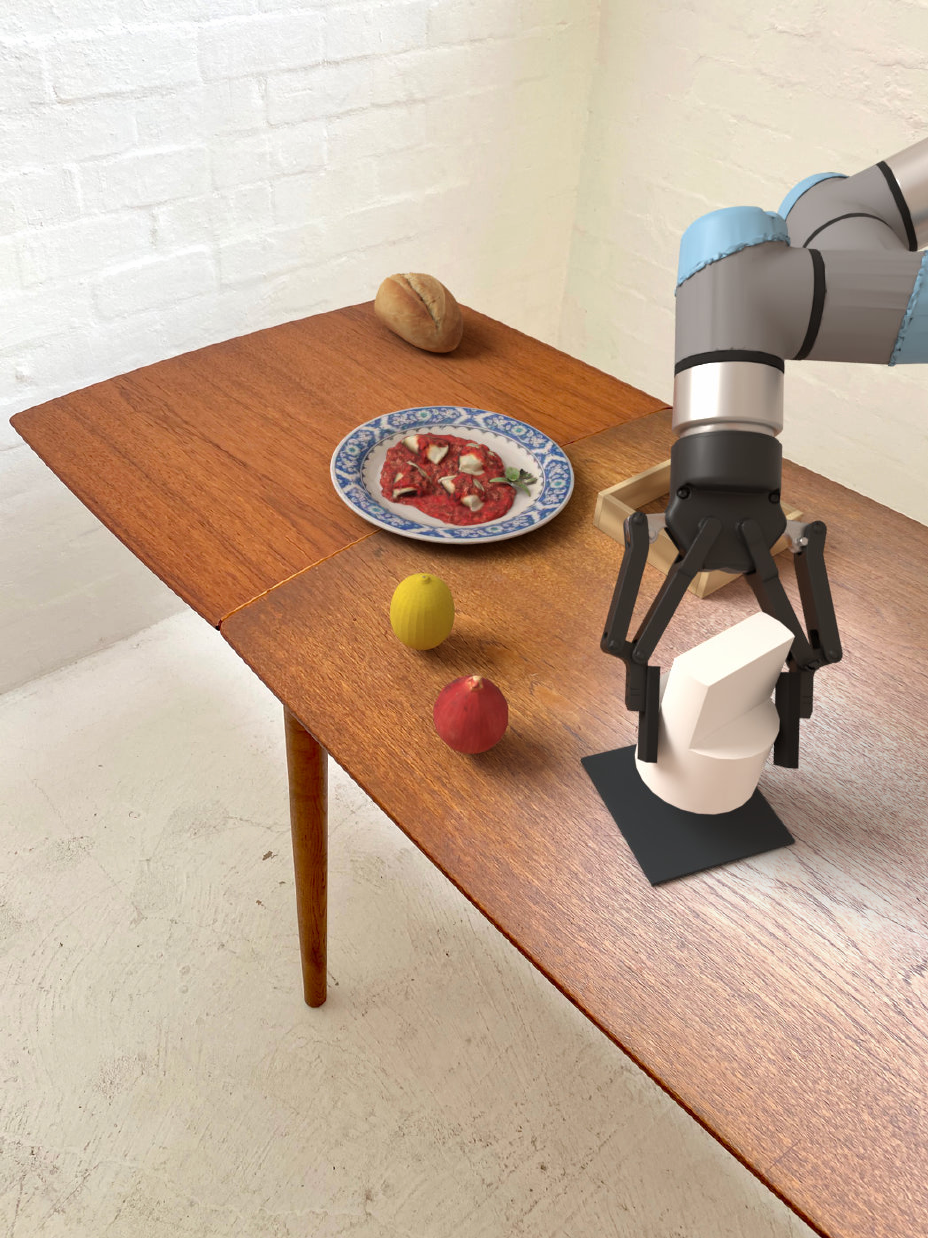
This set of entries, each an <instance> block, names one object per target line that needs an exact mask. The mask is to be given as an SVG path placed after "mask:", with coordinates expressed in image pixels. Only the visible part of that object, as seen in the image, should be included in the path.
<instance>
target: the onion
mask: <svg viewBox="0 0 928 1238" xmlns="http://www.w3.org/2000/svg"><path fill="white" fill-rule="evenodd" d="M432 711H433V712H432V713H433V714H432V715H433V725H434V728H435V730H436V732H437V734H438V736H439V738H440V740H441V741H443V743H445V744H446V745H447V746H448V747H449V748H451V750H453V751H455V752H459V753H462V754H471V755H472V754H474V755H476V754H480V753H484V752H487V751H489V750H490V749H491V748H493V747H494V746H496V744H498V743H499V742H500V741H501V739H502V738H503V736H504V735H505V733H506V731H507V729H508V726H509V703H508V701H507V699H506V697H505V696H504V693H502V690H501V689H500V687H498V686H497V685H495V684H494V683H493V682H492V681H491V680H490V679H488V678H486V677H483V676H481V675H475V674H467V675H462V676H459V677H456V678H454V679H453V680H452V681H450V682H449V683H447V684H446V685H445V686H443V688H442V689H441V691H440V692H439V694H438V696H437V698H436V699H435V702H434V704H433V710H432Z"/></svg>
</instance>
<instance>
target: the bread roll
mask: <svg viewBox="0 0 928 1238" xmlns="http://www.w3.org/2000/svg"><path fill="white" fill-rule="evenodd" d="M373 311H374V313H375V316H376V317H377V320H378V321H379V322H380V323H381V324H382V325H383V326H384V327H386V328H387V329H388V330H390V331H391V332H393V333H394V334H396V335H397V336H399V337H400V338H402V339H403V340H404V341H406V342H407V343H409V344H411V345H413V346H414V347H417V348H420V349H422V350H425V351H429V352H433V353H447V352H452V351H454V350H456V349H457V348H458V346H459V344H460V341H461V339H462V337H463V334H464V333H463V332H464V318H463V314H462V311H461V308H460V306H459V303H458V301H457V299H456V297H455V295H453V293H452V292H451V291H450V290H449V289H448V288H447V287H446V286H445V285H444V284H443V283H442V282H441V281H440V280H438V279H437V278H435V277H434V276H433V275H431V274H429V273H421V272H408V273H407V272H406V273H395V274H391V275H390V276H387V277H385V279H384V280H383V281H382V282H381V284H380V285H379V287H378V289H377V292H376V296H375V299H374V303H373Z"/></svg>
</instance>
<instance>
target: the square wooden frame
mask: <svg viewBox="0 0 928 1238" xmlns="http://www.w3.org/2000/svg"><path fill="white" fill-rule="evenodd" d="M670 466H671V458H669V459H667V460H665V461H663V462H660V463H658V464H656V465H654V466H652V467H649V468H647V469H646V470H644V471H641V472H639V473H637V474H634V475H633V476H631V477H629V478H627V479H625V480H623V481H620V482H618V483H616V484H614V485H612V486H610V487H608V488H606V489H602V490H601V491H599V492H598V494H597V498H596V504H595V510H594V514H593V515H594V516H593V521H592V526H593V527H596V529H598V530H599V531H601V532H602V533H604V534H605V535H607V536H608V537H610V538H612V539H613V540H614V541H616V542H617V543H619V544H620V545H621V546H623V547H625V542H624V531H623V522H624V520H625V519H626V518H628V517H629V516H630V515H632V514H633V513H634V512H637V511H636V510H637V509H639V508H641V507H643V506H645V505H647V504H649V503H651V502H653V501H655V500H657V499H659V498H661V497H663V496H666V495H667V494H670ZM780 503H781V507H782V510H783V512H784V514H785V516H786V519H788V520H794V521H800V522H802V519H803V516H804V512H802V511H801V510H799V509H798V508H796V507H794V506H792V505H791V504H789V503H787V502H785V501H784V500H782V499H780ZM787 549H788V546H787V540H786V539H785V537H783V536H781V537H780V538H779V540H778V541H777V542H776V543H775V545H774V546H773V547H772V549H771V550H770V553H771V555H772V557H773V558H774V556H776V555H778V554H780V553H781V552H783V551H784V550H787ZM678 553H679V551H678V550H677V548H676V547H675V545H674V544H673V542H672V541H671V539H670V538H669V536H668V535H667V533H666V532H665V530H664V529H661V530H660V531H659V533H658V538H657V540H656V541H655V542H654V543H652V544H650V545H649V552H648V557H647V561H646V563H648V564H649V565H651V566H652V567H654V568H655V569H656V570H658V571H660V572H661V573H662V574H664V575H665V576H667V575H668V571H669V569H670V567H671V565H672V564H673V562H674V560H675V558H676V556H677V554H678ZM741 576H743V574H742V573H741V574H729V573H726V572H723V571H720V570H716V571H711V572H698V573H697V575H696V576H695V577H694V579H693V580H692V581H691V583H690V585H689V587H688V588H687V590H686V591H689V592H690V593H692V594H693V595H695V596H696V597H698V598H699V599H701V600H703V599H704V598H706V597H708V596H710V595H711V594H712V593H715V592H716V591H718V590H719V589H721V588H723V587H724V586H726V585H727V584H730V583H731V582H733V581H734V580H736V579H737V578H739V577H741Z"/></svg>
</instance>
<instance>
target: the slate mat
mask: <svg viewBox="0 0 928 1238" xmlns="http://www.w3.org/2000/svg"><path fill="white" fill-rule="evenodd" d="M636 747H637V743H635V744H631V745H626V746H622V747H618V748H615V749H611V750H607V751H602V752H598V753H594V754H591V755H587V756H583V757H580V763H581V765H582V766H583V768H584V770H585V771H586V773H587V775H588V777H589V779H590V780H591V782H592V784H593V785H594V787H595V790H596V791H597V792H598V794H599V796H600V797H601V800H602V802H603V803H604V805H605V807H606V808H607V810H608V812H609V814H610V816H611V817H612V819H613V821H614V823H615V825H616V826H617V828H618V829H619V832H620V833H621V835H622V836H623V839H624V840H625V842H626V844H627V846H628V847H629V849H630V851H631V852H632V854H633V856H634V858H635V859H636V861H637V863H638V865H639V867H640V868H641V870H642V872H643V874H644V876H645V877H646V879H647V881H648V882H649V884H650V886H651V887H655V886H659V885H661V884H665V883H668V882H672V881H675V880H678V879H681V878H684V877H688V876H691V875H695V874H699V873H701V872H704V871H709V870H711V869H714V868H718V867H721V866H724V865H728V864H732V863H734V862H737V861H741V860H744V859H748V858H751V857H754V856H757V855H762V854H764V853H767V852H771V851H775V850H778V849H781V848H784V847H787V846H790V845H794V844H795V843H796V839H795V838H794V836H793V835H792V834H791V832H790V831H789V829H788V827H786V826H785V823H784V822H783V821H782V820H781V818H780V817H779V816H778V814H777V813H776V811H775V810H774V808H773V807H772V806H771V804H770V803H769V801H768V800H767V799H766V798H765V796H764V795H763V793H762V792H761V790H760V789H759V787H758V786H757V785H756V788H755V790H754V792H753V794H752V796H751V797H750V798H749V799H748V800H747V801H746V802H745V803H744V804H743V805H742V806H740V807H738V808H736V809H734V810H732V811H730V812H724V813H719V814H698V813H694V812H690V811H686V810H682V809H680V808H678V807H675V806H673V805H671V804H669V803H667V802H665V801H664V800H663V799H661V798H660V797H659V796H657V795H656V794H655V793H653V792H652V791H651V789H650V788H649V787H648V786H647V785H646V784H645V782H644V781H643V780H642V778H641V776H640V774H639V772H638V769H637V767H636V760H635V752H636Z"/></svg>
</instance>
